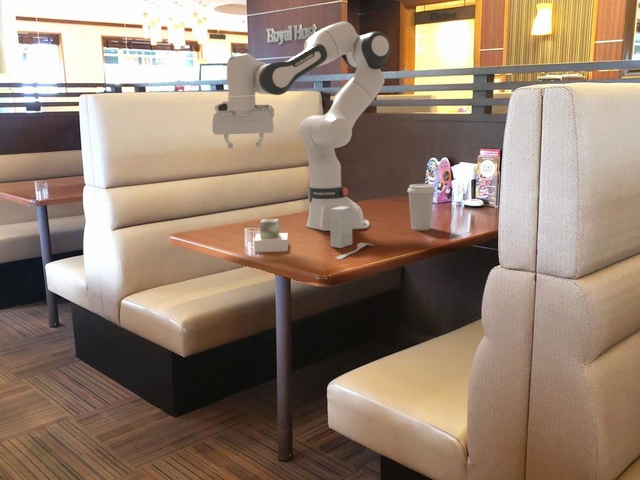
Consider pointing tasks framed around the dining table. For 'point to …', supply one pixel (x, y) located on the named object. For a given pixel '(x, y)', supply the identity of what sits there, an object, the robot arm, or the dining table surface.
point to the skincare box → (341, 226)
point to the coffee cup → (421, 205)
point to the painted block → (271, 243)
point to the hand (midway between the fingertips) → (244, 147)
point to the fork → (354, 250)
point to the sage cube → (269, 228)
